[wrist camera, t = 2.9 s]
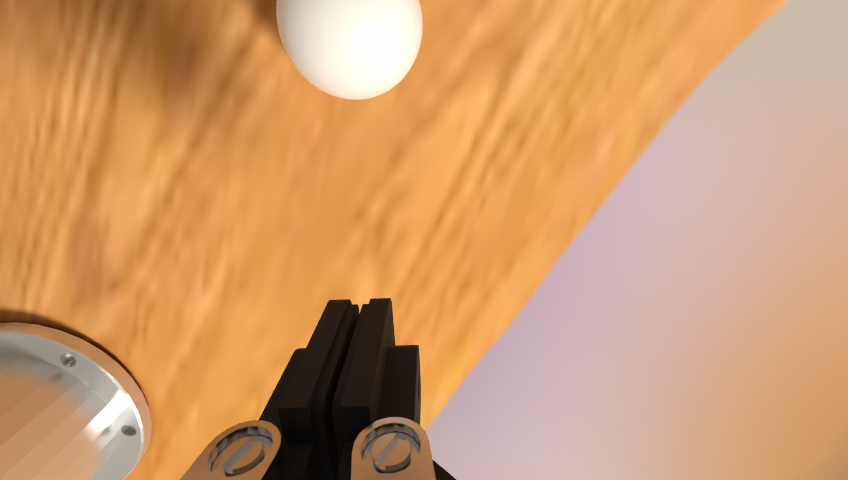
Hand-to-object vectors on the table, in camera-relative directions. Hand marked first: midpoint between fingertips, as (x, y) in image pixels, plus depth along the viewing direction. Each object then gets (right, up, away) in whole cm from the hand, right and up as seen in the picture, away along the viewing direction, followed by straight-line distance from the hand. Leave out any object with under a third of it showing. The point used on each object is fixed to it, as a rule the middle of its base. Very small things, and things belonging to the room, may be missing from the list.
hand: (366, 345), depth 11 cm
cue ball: (-1, +11, +4) cm, 12 cm away
